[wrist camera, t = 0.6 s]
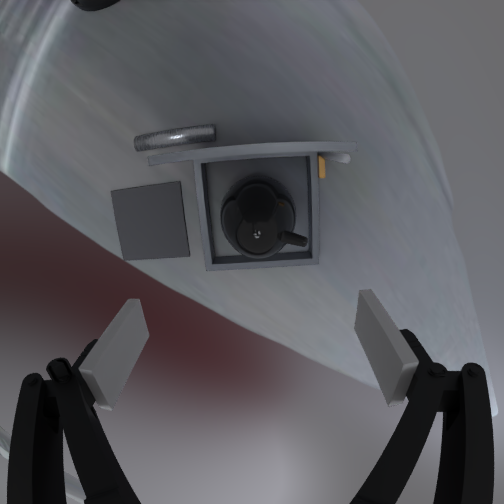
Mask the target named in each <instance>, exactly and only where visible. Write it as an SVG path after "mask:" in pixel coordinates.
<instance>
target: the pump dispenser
mask: <svg viewBox="0 0 504 504" xmlns="http://www.w3.org/2000/svg"><path fill="white" fill-rule="evenodd" d="M220 221H221V227H222V230H223V233H224V235H225V237H226V239H227V240H228V242H229V243H230V244H231V246H232V247H233V248H234V249H235V250H237V251H238V252H239V253H241V254H243V255H245V256H247V257H250V258H266V257H269V256H272V255H274V254H275V253H277V252H278V251H280V250H281V249H282V248H283V247H284V246H285V245H286V244H292V245H297V246H302V247H305V246H306V245H307V242H308V239H307V237H304V236H301V235H299V234H296V233H293V231H294V228H295V223H296V208H295V204H294V201H293V198H292V196H291V195H290V193H289V192H288V190H287V189H286V188H285V187H284V186H283V185H282V184H281V183H279V182H278V181H276V180H274V179H271V178H268V177H263V176H253V177H248V178H245V179H243V180H240V181H239V182H237V183H236V184H234V185H233V186H232V187H231V188H230V189H229V191H228V192H227V193H226V195H225V197H224V199H223V202H222V205H221V211H220Z"/></svg>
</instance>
